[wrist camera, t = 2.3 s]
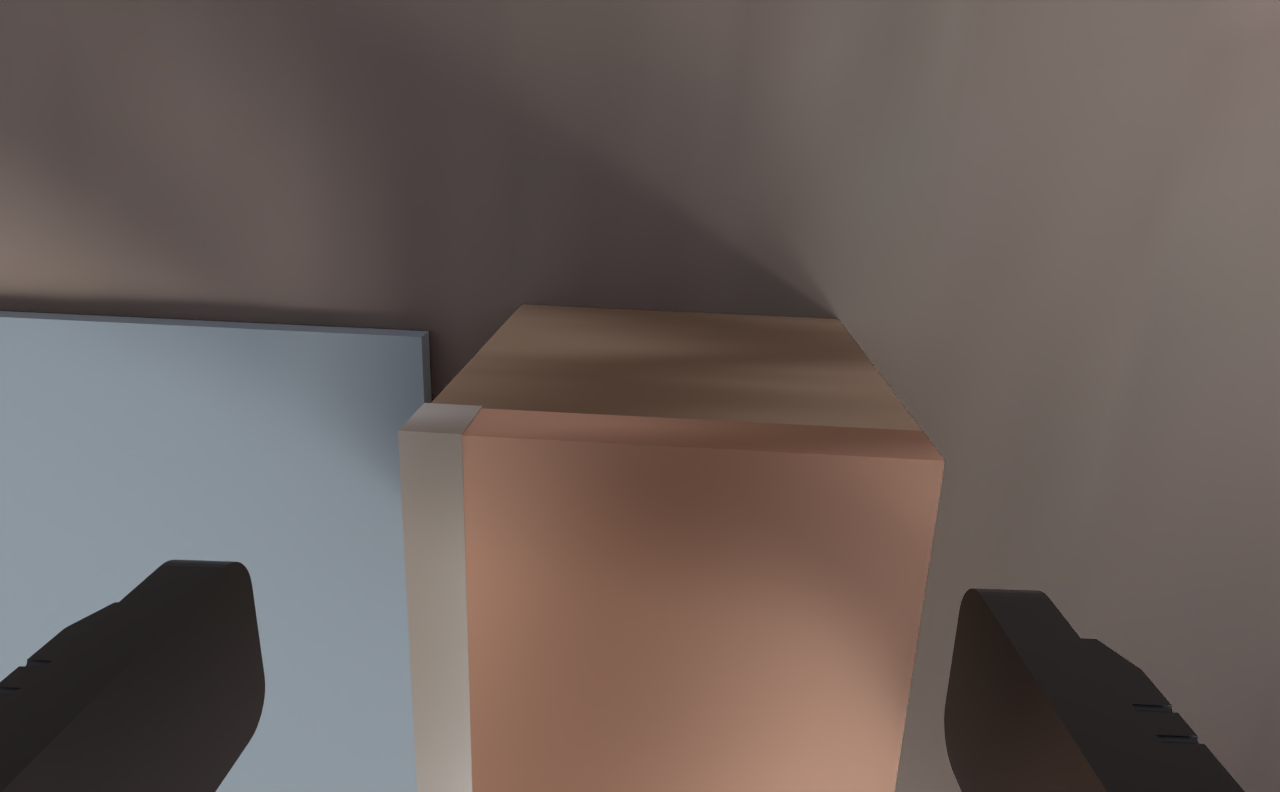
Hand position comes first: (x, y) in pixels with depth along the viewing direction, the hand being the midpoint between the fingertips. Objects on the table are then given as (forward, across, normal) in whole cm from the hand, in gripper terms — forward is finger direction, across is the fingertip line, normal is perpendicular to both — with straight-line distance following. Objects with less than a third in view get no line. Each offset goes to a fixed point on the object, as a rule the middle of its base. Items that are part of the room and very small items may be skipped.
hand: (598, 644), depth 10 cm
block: (+5, -1, 0) cm, 5 cm away
